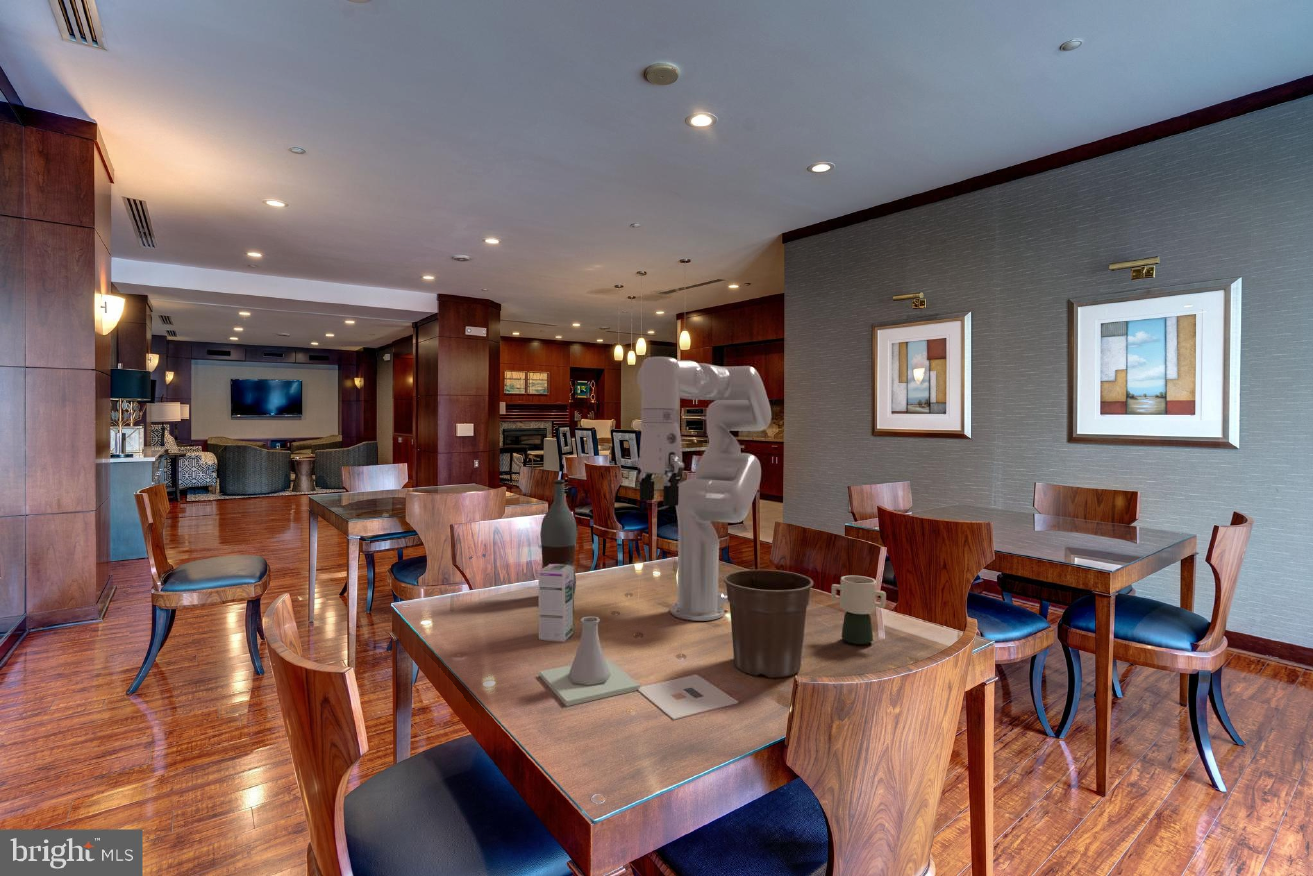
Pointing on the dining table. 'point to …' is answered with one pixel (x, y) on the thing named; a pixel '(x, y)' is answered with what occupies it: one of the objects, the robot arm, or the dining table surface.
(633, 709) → the dining table surface
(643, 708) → the dining table surface
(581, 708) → the dining table surface
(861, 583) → the character mug
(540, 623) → the syrup box
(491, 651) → the dining table surface
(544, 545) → the bottle
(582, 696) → the coaster
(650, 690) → the white flat square
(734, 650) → the plant pot
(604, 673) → the flask
